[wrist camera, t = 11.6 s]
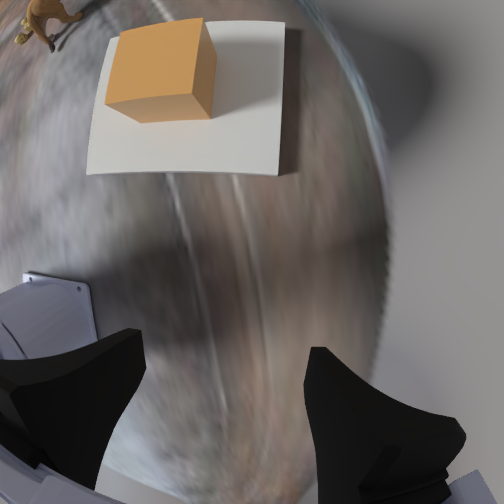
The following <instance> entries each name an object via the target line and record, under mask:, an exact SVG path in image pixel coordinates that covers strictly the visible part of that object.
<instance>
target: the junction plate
mask: <svg viewBox="0 0 504 504" xmlns="http://www.w3.org/2000/svg"><path fill="white" fill-rule="evenodd" d="M205 24H206V26H207V29H208V32H209V34H210V37H211V40H212V43H213V45H214V48H215V51H216V54H217V63H216V72H215V82H214V91H213V102H212V113H211V119H209V120H180V121H164V122H152V123H142V124H141V123H139V122H137V121H135V120H133V119H132V118H130V117H128V116H126V115H124V114H122V113H120V112H118V111H116V110H114V109H112V108H110V107H108V106H106V105H104V103H105V97H106V92H107V86H108V81H109V77H110V72H111V68H112V64H113V59H114V55H115V52H116V48H117V44H118V41H119V37H120V36H119V37H115V38H111V39H110V42H109V45H108V49H107V52H106V56H105V60H104V63H103V67H102V71H101V76H100V80H99V85H98V89H97V94H96V99H95V105H94V111H93V117H92V124H91V131H90V139H89V148H88V159H87V172H86V175H111V174H135V173H216V174H241V175H258V176H273V177H277V176H278V166H279V150H280V132H281V112H282V91H283V67H284V38H285V23H284V22H269V21H215V22H205Z"/></svg>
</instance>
